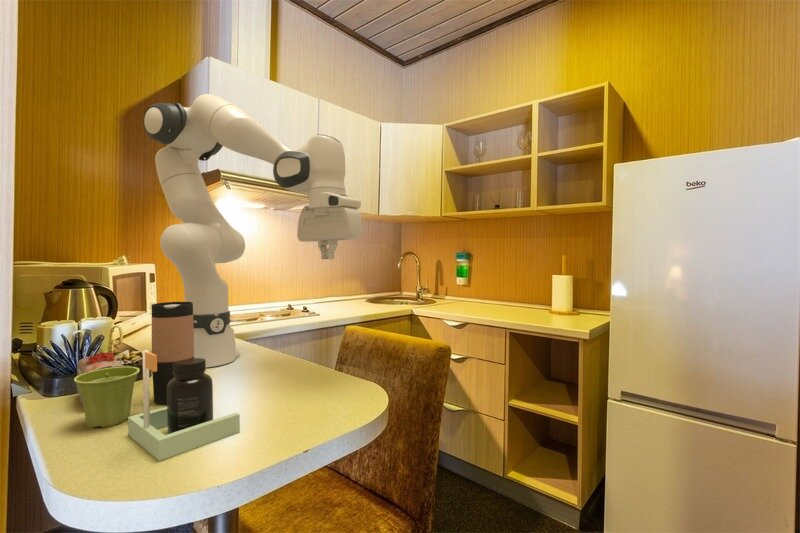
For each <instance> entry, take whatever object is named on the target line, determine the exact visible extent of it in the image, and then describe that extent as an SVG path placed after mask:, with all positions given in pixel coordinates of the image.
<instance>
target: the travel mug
mask: <svg viewBox="0 0 800 533" xmlns="http://www.w3.org/2000/svg"><path fill="white" fill-rule="evenodd" d="M151 353H153V354H155V355H157V371H155V372H154V371H152V370H151V372H152V390H153V391H152V393H153V403H154V404H156V405H158V406H159V405H160V406H167V385H168V383H169V381H170V380H171V379H173V378H174V377H175V375H173V371H174V370H173V364H174V363H175V362H177V361H180V360H184V359H191V358H194V328H193V303H192V302H185V301H168V302H167V301H165V302H156V303H152V304H151Z"/></svg>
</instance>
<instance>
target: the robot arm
mask: <svg viewBox="0 0 800 533" xmlns="http://www.w3.org/2000/svg"><path fill="white" fill-rule="evenodd" d="M142 124H143V128H144V131H145V132H144V133H146V135H147V137H149V138H150V139H152V140H153V141H155V142H157V143H159V144H161V145H164V146H165V145H166V146H165V147H162V148H160V149H159V150H158V151H157V152H156V153H155V155H154V156H155V157H154V163H155V170H156V172H157V173H156V174H157V178H158V181H159V184H160V187H161V190H162V192H163V195H164V197H165V199H166V203H167V205H168V208H169V210H170V212H171V214H172V215H173V216H174V217H175V218H176V219H178V220H180V221H181V222H182V223H177V224H171V225H169V226H167V227H166V228H165V229H164V230H163V232H162V233H161V236H160V241H159V242H160V243H159V244H160V250H161V252H162V254H163V256H164V257H165V258H166V259H168V260H169V261H170V262H171V263H172V264H173V265H174V267H175V268H176V269H177V272H178V274H179V276H180V278H181V282H182V284H183V291H184V302H192V303H193V328H194V358H203V359H205V361H206V368H212V367H218V366H222V365H226V364H229V363H232V362H234V361H235V360H236V358H238V357H240V356H241V353H240V351H237V348H236V336H235V330H234V328H232V327H231V325H230V324H231V319H232V318H231V317H232V316H231V311H230V310H229V285H228V283H227V282H226V280H224V279H222V277H221V276H220V274H219V272H218V270H217V268H216V264H227V263H230V262H233V261H237V260H238V259H240V258H241V257H242V256H243V255H244V252H245V249H246V241H245V238H244V237H243V235H242V234H241V233H240V232H239V231H237V230H236V229H235V228H234V227H233V226H232V225H230V223H229V222H228V221H227V219H226V218H225V217H224V216H223V214H222V213H221V212H220V211H219V209H218V208H217V206H216V205H215V203H214V201H213V199H212V197H211V194H210V193H209V190H208V187H207V184H206V183H205V180H204V178H203V175H202V173H201V171H200V168H199V161H204V162H205V161H208V160H209V159H210V158H211V157H213V156H215V155H216V154H218V153H219V152H220V150H222V148H223V147H224V148H226V149H228V150H230V151H233V152H235V153H237V154H240V155H244V156H248V157H251V158H254V159H257V160H261V161H264V162H267V163H269V164H271V165H273V168H272V173H273V174H272V175H273V179H274V181H275V182H276V184H277V185H278V186H279V187H282V189H285V190H288V191H289V192H290V191H291V192H294V193H297V194H301V195H304V196H307V197H308V205H305V206H304V207H303V208H302V209H301V211H300V214H299V217H298V222H297V233H296V234H297V240H298V241H299V242H306V243H307V242H309V243H310V242H311V243H313V242H317V247H318V249H319V251H320V258H321V259H322V260H334V259H335V252H336V250H337V247H338V246H339V241H347V240H348V241H350V240H360V237H361V236H362V233H363V230H362V229H363V222H362V221H363V220H362V213H361V211H360V210H359V209H360V208H361V207H362V206H361V205H362V201H361V199H358V198H355V197H352V196H349V195H346V190H347V189H346V187H345V176H346V157H345V156H346V155H345V151H344V150H345V149H344V145H343V143H342V142H341V141H340V140H338V139H337V138H335V137H333V136H329V135H326V134H315V135H312V136H310V138H309V139H308V141H307V142H305V143H304V144H302V145H301V146H299V147H297V148H295V149H291V148H290V147H288V146H287V145H285V144H284V143H282V142H281V141H280V140H278V139H277V138H276V137H275V136H274V135H273V134H271V133H270V132H269V131H268V130H267V129H265V128H264V126H262V125H261V124H260V123H259V122H257V120H255V118H253V117H252V116H251V115H250V114H248V113H247V112H246V111H245V110H244V109H242V108H240V107H239V106H238V105H236V104H235V103H232V102H231V101H229V100H226V99H224V98H223V97H221V96H218V95H215V94H212V93H204V94H201V95H200V94H199V96H197V97H196V98H195V99H194V101H193V102H192V105H190V106H189V107H186V106H183V105H182V104H181V103H179V102H171V103H170V102H169V103H168V102H156V103H153V104H151V105H150V106H148V108H146V110H145V111H144V114H143V118H142Z"/></svg>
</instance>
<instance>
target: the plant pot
mask: <svg viewBox="0 0 800 533" xmlns="http://www.w3.org/2000/svg"><path fill="white" fill-rule="evenodd" d="M138 374H140V368H139V367H137V366H125V367H112V368H105V369H99V370H94V371H90V372H87V373H83V374H81V375H78V376H77V375H76V376H75V377H74V379H73V382H74V383H75V384H76V383H77V385H78V389H79V390H80V391H81V396H82V401H83V404H82V405H83V406H82V407H83V409H84V415H85V421H86V426H87V427H89V428H96V427H101V428H108V427H112V426H115V425H119V424H121V423H123V422H125V420H127V419H128V417H130V414H131V406H132V401H133V392H134V388H135V387H134V386H135V381H137V377H138Z"/></svg>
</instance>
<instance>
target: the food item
mask: <svg viewBox="0 0 800 533" xmlns="http://www.w3.org/2000/svg"><path fill="white" fill-rule="evenodd" d="M112 367H126V366H125V365H124V364H122V363H121V362H120V361H118V357H116V356H115V353H113V352H108V353H107V352H103V351H100V352H98V353H97V354H92V355H90V356H89V355H88V356H87V355H85V356H84V357H83V358H81V359H79V360H78V361H77V368H76V377H77V376H78V375H81V374H83V373H87V372H90V371H94V370H99V369H105V368H112ZM75 386H76V391H77V393H78V396H79V399H80V404H82V405H83V401H82V396H81V391H80V390H79V389H78V385H77V383H75Z"/></svg>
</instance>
